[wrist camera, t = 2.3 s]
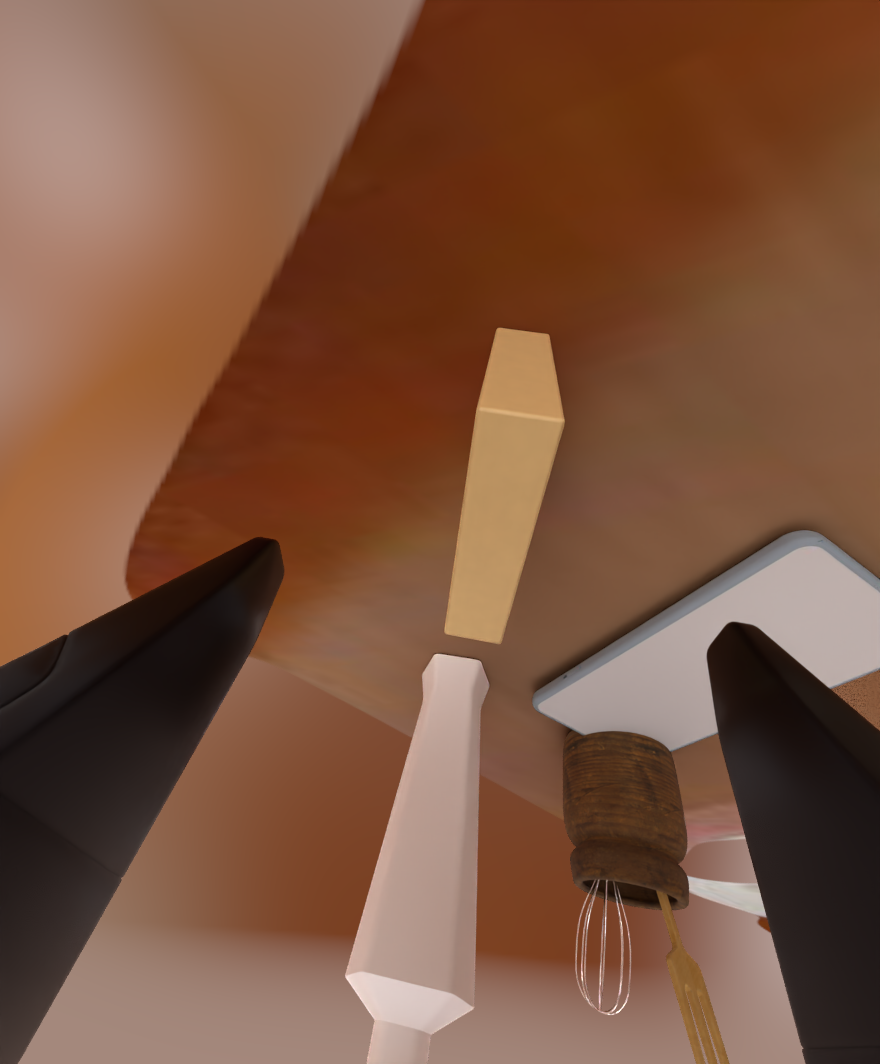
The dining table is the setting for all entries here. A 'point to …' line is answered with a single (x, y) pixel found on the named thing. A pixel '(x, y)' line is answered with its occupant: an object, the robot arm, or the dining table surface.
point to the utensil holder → (634, 852)
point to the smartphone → (695, 621)
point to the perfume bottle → (426, 876)
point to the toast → (504, 482)
